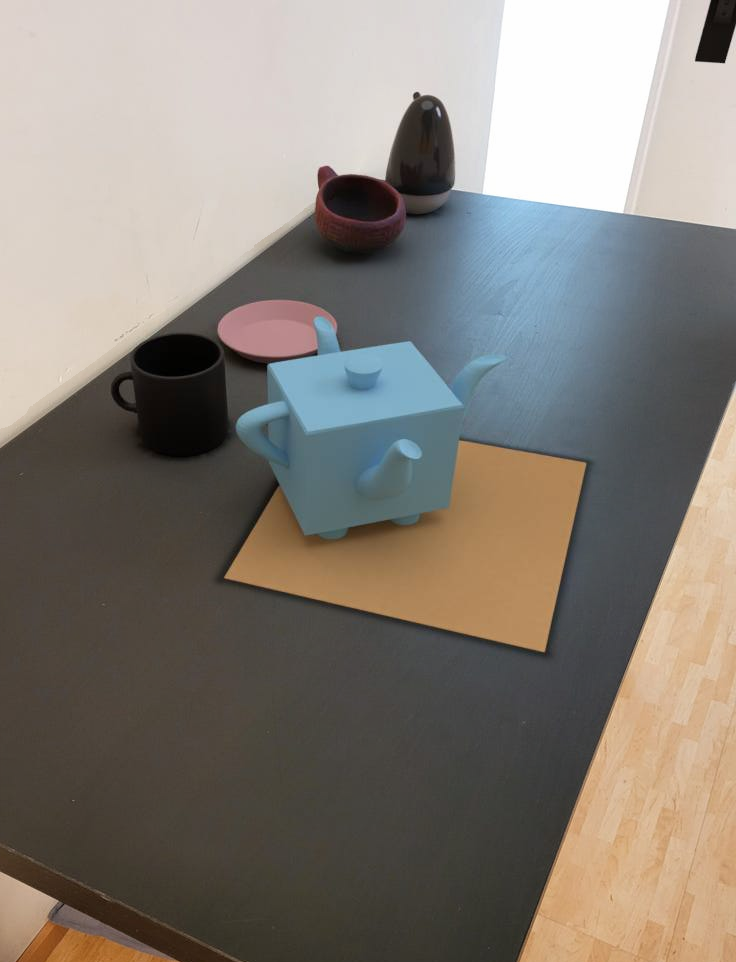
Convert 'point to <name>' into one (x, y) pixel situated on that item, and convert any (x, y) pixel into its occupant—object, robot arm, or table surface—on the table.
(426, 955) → the table surface
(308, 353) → the plate
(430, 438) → the teakettle
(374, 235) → the bowl
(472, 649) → the table surface
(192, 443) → the mug
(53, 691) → the table surface
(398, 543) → the trivet mat
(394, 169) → the dark brown tall dome
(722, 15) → the robot arm
